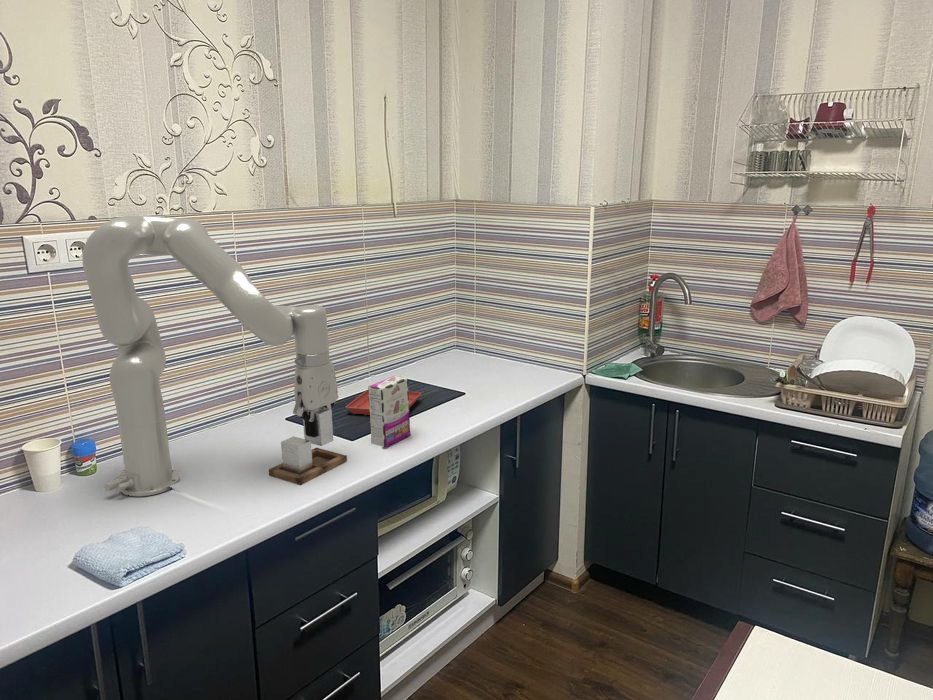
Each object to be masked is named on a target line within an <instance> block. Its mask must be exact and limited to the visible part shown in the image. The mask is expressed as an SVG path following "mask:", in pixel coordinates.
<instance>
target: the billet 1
mask: <svg viewBox="0 0 933 700" xmlns="http://www.w3.org/2000/svg"><path fill="white" fill-rule="evenodd" d="M280 448H281V459H282V463H283V470H285V471H288V472H291V473H295V474H298V475H301V474H303V473H305V472H307V471H309V470H311V469H313V465H312V444H311V441H310V440H306V439H304V438H302V437H298V436H291V437H289V438H287V439H284V440H282V441H281V442H280Z"/></svg>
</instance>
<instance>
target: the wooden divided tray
mask: <svg viewBox="0 0 933 700" xmlns="http://www.w3.org/2000/svg"><path fill="white" fill-rule="evenodd" d="M311 450H312V465H313V469H311V470H309V471H307V472H305V473H303V474H301V475H298V474H295V473H291V472H288V471H285V470H283V462H282V463H279V464H277V465H275V466H273V467H271V468H268V475H269V477H273V478H276V479H279V480H281V481H285V482H289V483H292V484H294V485H299V486H302V485H304V484H306V483H308V482H309V481H311V480H314V479H316V478H318V477H319V476H321V475H324V474H326V473H328V472H329V471H332V470H333V469H336V468H338V467H339V466H341V465H343V464H345V463H347V462H348V455H346V454H342V453H338V452H335V451H331V450H329V449H328V450H327V449H324V448H320V447H314V448H311Z"/></svg>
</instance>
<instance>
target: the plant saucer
mask: <svg viewBox="0 0 933 700" xmlns="http://www.w3.org/2000/svg"><path fill="white" fill-rule="evenodd" d="M421 395H422V392H419V391H408V396H409V409H410V408H411V407H412V406H414V405H415V403H416V402H417V401H418V399H419V398H420V397H421ZM345 409H347V411H349V412H350V413H351V414H353V415H355V414H364V415H363V416H367V415H370V409H369V393H368V389H366V390H365V391H364V392H362V393H361V394H360V395H358V396H357V397H356V398H355V399H354V400H352V401H351V402H350V403H348V404H347V405H345Z"/></svg>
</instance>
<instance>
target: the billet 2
mask: <svg viewBox="0 0 933 700" xmlns="http://www.w3.org/2000/svg"><path fill="white" fill-rule="evenodd" d="M307 414H309V411H308V412H307ZM314 421H316V429H317V437H315V438H314V437H310V436H307V435H306V434H305V421H304V420H302V422H303V423H302V424H303V435H304V437H303V439H306V440H310V441H311V445H316V446H320V447H323V446H325V445H328V444H330V443H332V442H334V430H333V429H334V427H333V410H332V411H331V409H329V408H324V407H321V408H319V409H316V410H315V412H314Z"/></svg>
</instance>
